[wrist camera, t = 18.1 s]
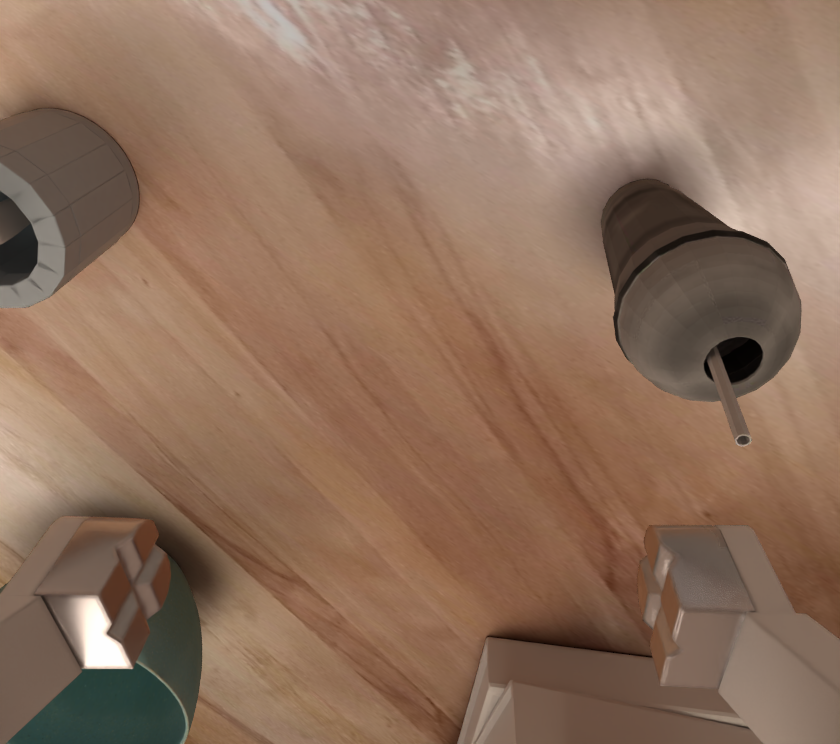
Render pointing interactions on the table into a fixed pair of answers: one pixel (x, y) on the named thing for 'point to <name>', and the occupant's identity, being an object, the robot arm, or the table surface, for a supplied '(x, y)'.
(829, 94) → the table surface
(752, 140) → the table surface
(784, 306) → the beverage cup
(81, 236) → the grey faceted canister
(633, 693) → the book stack
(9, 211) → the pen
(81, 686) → the green bowl
